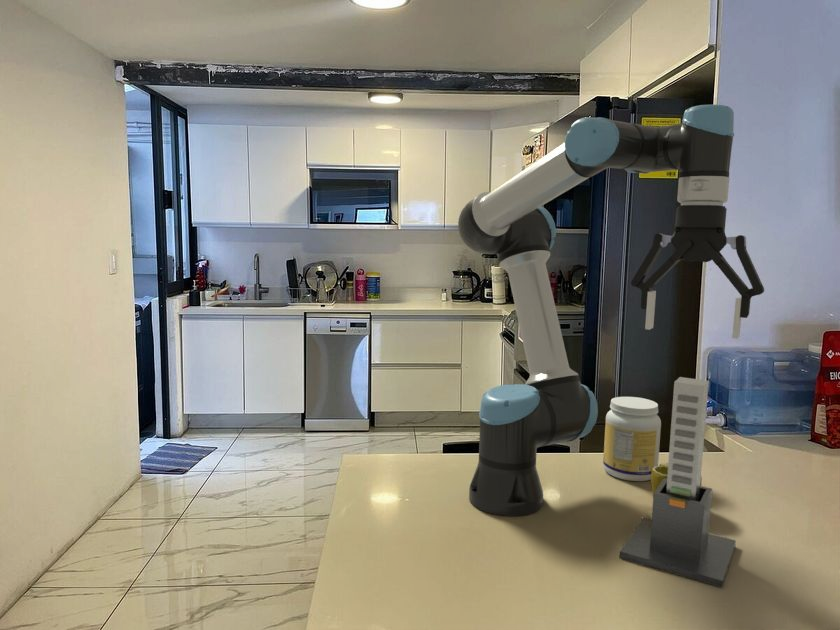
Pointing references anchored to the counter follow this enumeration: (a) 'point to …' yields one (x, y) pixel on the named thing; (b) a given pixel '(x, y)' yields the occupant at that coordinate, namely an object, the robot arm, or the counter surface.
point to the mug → (659, 475)
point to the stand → (680, 539)
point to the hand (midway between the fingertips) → (691, 333)
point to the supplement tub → (632, 438)
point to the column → (687, 438)
